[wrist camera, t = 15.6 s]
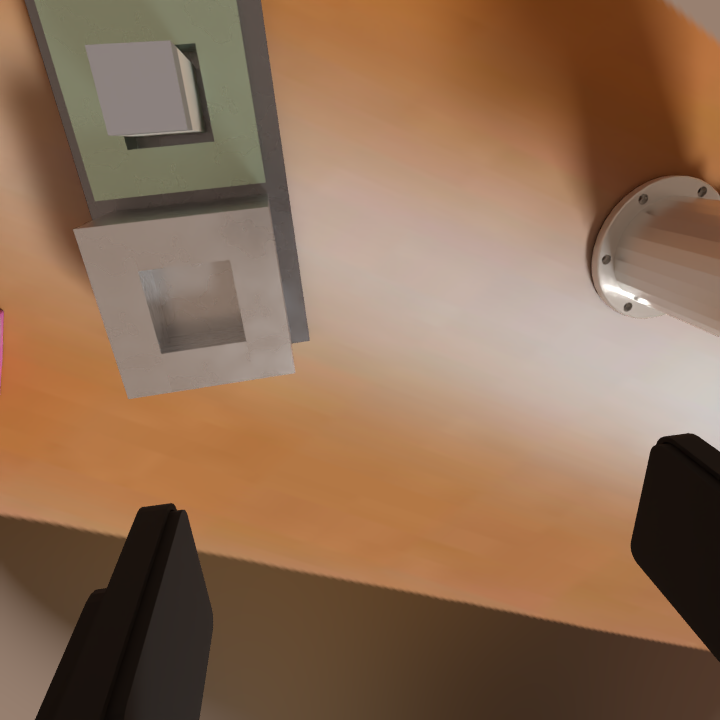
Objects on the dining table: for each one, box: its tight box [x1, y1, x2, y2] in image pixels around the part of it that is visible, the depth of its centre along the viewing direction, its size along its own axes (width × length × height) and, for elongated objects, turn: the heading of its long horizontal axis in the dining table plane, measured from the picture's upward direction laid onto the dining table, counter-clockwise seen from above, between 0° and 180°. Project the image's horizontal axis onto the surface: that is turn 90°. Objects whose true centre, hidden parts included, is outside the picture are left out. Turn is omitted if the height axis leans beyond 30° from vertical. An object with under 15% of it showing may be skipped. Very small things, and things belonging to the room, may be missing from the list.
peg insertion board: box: [25, 0, 310, 399], centre depth 32 cm, size 14×25×9 cm, turn 5°
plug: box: [85, 40, 206, 137], centre depth 29 cm, size 4×4×9 cm
